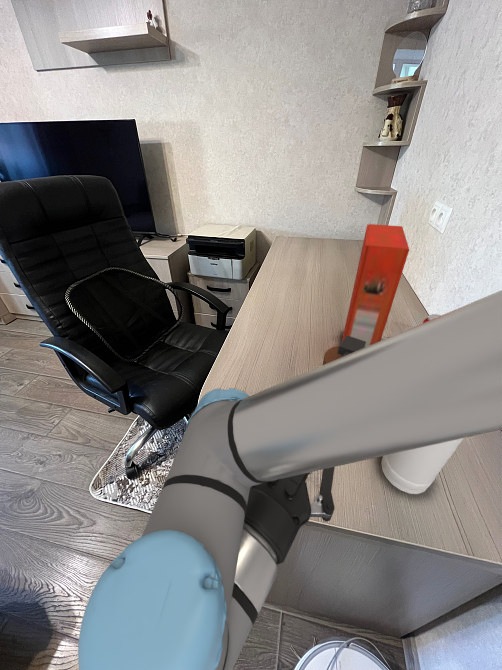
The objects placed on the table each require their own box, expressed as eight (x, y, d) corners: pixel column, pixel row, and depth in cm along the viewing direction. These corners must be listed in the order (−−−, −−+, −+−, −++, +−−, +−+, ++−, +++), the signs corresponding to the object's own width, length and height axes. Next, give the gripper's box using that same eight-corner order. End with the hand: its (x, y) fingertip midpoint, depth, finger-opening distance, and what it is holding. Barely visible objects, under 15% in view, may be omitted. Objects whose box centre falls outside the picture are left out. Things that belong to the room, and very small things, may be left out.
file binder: (336, 368, 72) (365, 244, 53) (342, 333, 85) (367, 223, 66) (369, 376, 69) (411, 249, 51) (370, 338, 82) (404, 226, 64)
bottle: (401, 501, 45) (493, 362, 28) (371, 457, 52) (431, 322, 34) (440, 487, 47) (549, 348, 30) (406, 446, 53) (481, 312, 36)
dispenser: (320, 404, 62) (338, 321, 49) (359, 422, 58) (389, 337, 45) (301, 434, 56) (315, 348, 43) (342, 457, 52) (372, 369, 39)
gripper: (208, 518, 35) (294, 400, 51) (302, 597, 29) (365, 435, 45) (202, 489, 31) (298, 370, 47) (311, 574, 25) (378, 404, 41)
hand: (331, 402), depth 46 cm, fingers closed
